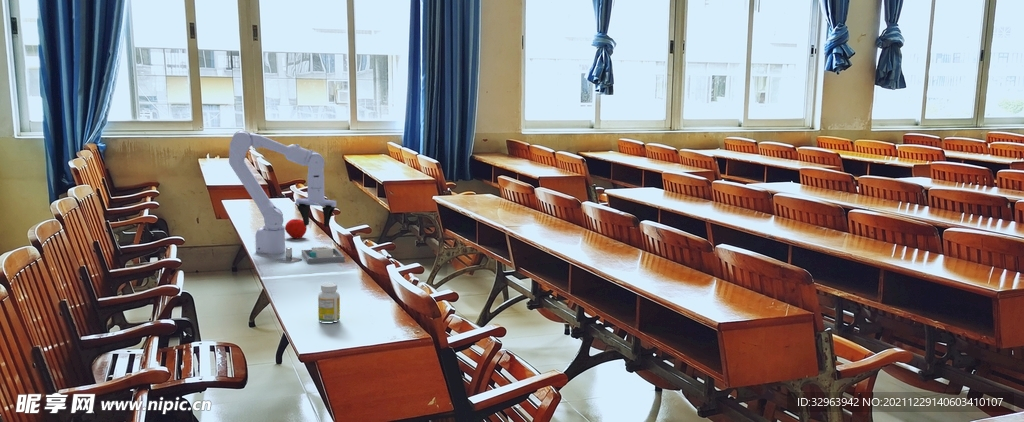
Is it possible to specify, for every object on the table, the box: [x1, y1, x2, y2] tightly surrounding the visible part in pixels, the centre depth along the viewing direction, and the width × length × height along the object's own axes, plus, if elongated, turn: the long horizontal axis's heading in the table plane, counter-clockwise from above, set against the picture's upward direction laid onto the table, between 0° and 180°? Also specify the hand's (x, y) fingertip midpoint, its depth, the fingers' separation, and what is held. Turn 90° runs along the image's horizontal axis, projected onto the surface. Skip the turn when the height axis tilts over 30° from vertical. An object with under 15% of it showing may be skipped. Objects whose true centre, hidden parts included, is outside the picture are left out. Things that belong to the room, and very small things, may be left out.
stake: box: [275, 247, 303, 264], centre depth 275 cm, size 8×8×5 cm
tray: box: [301, 247, 346, 265], centre depth 279 cm, size 14×12×2 cm
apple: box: [284, 218, 307, 239], centre depth 315 cm, size 8×8×7 cm
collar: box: [308, 245, 334, 258], centre depth 278 cm, size 5×7×4 cm
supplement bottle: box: [317, 282, 341, 322], centre depth 211 cm, size 5×5×10 cm
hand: (316, 225), depth 290 cm, fingers open, 7 cm apart
